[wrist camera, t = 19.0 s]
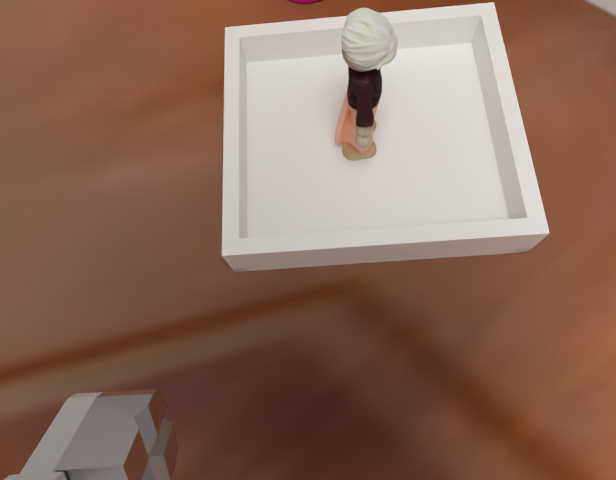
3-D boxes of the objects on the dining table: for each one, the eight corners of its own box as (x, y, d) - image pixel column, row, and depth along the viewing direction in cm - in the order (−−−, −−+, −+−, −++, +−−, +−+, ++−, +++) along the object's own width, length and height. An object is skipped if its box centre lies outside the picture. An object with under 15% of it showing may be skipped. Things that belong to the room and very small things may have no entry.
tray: (234, 271, 36) (221, 255, 32) (235, 60, 43) (225, 27, 39) (527, 252, 35) (549, 233, 31) (480, 39, 41) (493, 2, 38)
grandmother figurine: (329, 105, 39) (323, -27, 27) (374, 100, 39) (389, -36, 27) (340, 188, 36) (340, 81, 24) (390, 182, 36) (413, 72, 24)
